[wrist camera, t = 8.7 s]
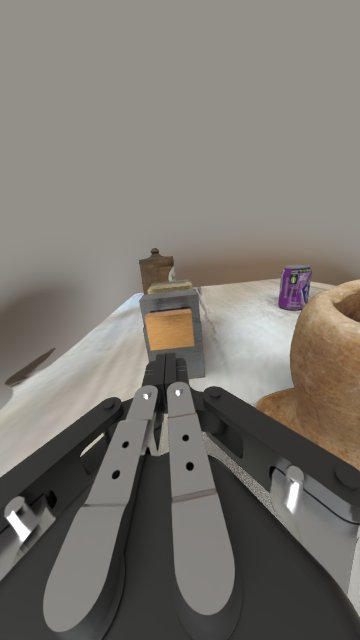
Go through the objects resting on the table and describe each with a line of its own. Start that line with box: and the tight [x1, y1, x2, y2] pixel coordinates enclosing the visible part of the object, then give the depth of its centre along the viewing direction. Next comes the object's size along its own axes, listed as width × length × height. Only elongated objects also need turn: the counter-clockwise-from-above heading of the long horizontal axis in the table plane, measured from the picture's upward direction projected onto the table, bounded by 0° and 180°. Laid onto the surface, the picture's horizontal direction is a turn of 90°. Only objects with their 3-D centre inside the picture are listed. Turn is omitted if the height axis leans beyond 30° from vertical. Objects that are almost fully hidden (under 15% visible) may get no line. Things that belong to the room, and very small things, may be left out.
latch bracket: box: [139, 280, 205, 379], centre depth 32 cm, size 16×8×13 cm, turn 2°
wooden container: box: [139, 248, 176, 294], centre depth 77 cm, size 15×15×22 cm
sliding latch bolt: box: [145, 308, 194, 351], centre depth 27 cm, size 18×5×4 cm, turn 2°
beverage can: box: [279, 265, 312, 310], centre depth 50 cm, size 7×7×12 cm
